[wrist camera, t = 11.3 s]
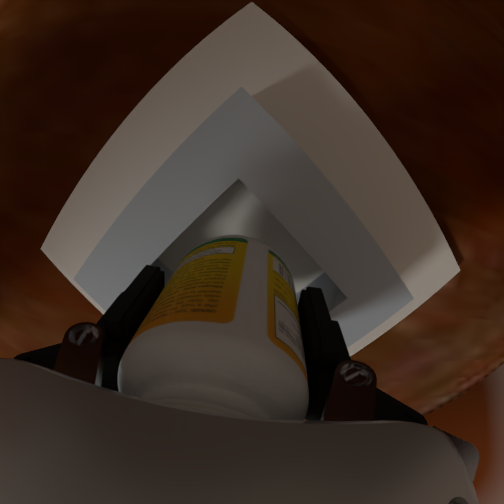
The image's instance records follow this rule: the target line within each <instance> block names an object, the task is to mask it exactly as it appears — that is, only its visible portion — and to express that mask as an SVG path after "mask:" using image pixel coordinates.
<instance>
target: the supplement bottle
mask: <svg viewBox="0 0 504 504" xmlns="http://www.w3.org/2000/svg"><path fill="white" fill-rule="evenodd" d="M117 377H118V390H119V392H121V393H125V394H128V395H132V396H136V397H140V398H144V399H148V400H152V401H157V402H161V403H165V404H170V405H175V406H180V407H185V408H191V409H196V410H202V411H208V412H215V413H222V414H229V415H237V416H246V417H256V418H267V419H281V420H301V421H304V419H305V416H306V413H307V409H308V405H309V390H308V379H307V370H306V362H305V354H304V347H303V340H302V333H301V327H300V320H299V312H298V305H297V299H296V292H295V286H294V281H293V277H292V274H291V272H290V270H289V267H288V266H287V264H286V262H285V261H284V259H283V258H282V257H281V256H280V255H279V254H278V253H277V252H276V251H275V250H274V249H273V248H271V247H270V246H268V245H267V244H265V243H263V242H261V241H259V240H257V239H255V238H251V237H247V236H243V235H225V236H219V237H215V238H211V239H208V240H206V241H204V242H202V243H200V244H198V245H197V246H195V247H194V248H193V249H191V250H190V251H189V252H188V253H187V254H186V256H185V257H184V258H183V260H182V261H181V262H180V264H179V265H178V267H177V268H176V270H175V272H174V273H173V275H172V276H171V278H170V279H169V281H168V283H167V284H166V286H165V287H164V289H163V290H162V292H161V294H160V295H159V297H158V298H157V300H156V301H155V303H154V305H153V306H152V308H151V310H150V311H149V313H148V314H147V316H146V317H145V319H144V321H143V322H142V324H141V325H140V327H139V328H138V330H137V332H136V333H135V335H134V337H133V338H132V340H131V342H130V344H129V345H128V347H127V349H126V350H125V352H124V354H123V356H122V359H121V361H120V364H119V368H118V376H117Z"/></svg>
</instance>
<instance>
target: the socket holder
mask: <svg viewBox="0 0 504 504" xmlns="http://www.w3.org/2000/svg"><path fill="white" fill-rule="evenodd" d="M225 235H243V236H247V237H251V238H255V239H257V240H259V241H261V242H263V243H265V244H267V245H268V246H270V247H271V248H273V249H274V250H275V251H276V252H277V253H278V254H279V255H280V256H281V257H282V258H283V259H284V261H285V262H286V264H287V266H288V267H289V270H290V272H291V274H292V277H293V281H294V286H295V292H296V299H297V305H298V302H299V298H300V293H301V290H302V289H303V290H306V288H307V287H316V288H321V289H322V292H323V295H324V298H325V301H326V304H327V307H328V310H329V314H330V317H331V320H335V321H338V323H339V325H340V328H341V331H342V334H343V337H344V340H345V343H346V346H347V349H348V352H349V355H350V356H352V355H353V354H355V353H356V352H358V351H359V350H361V349H362V348H364V347H365V346H366V345H368V344H369V343H371V342H372V341H374V340H375V339H376V338H378V337H379V336H381V335H382V334H383V333H385V332H386V331H388V330H389V329H390V328H392V327H393V326H394V325H396V324H397V323H398V322H400V321H401V320H402V319H404V318H405V317H406V316H407V315H409V314H410V313H411V312H413V311H414V310H415V309H416V308H418V307H419V306H420V305H421V304H422V303H424V302H425V301H426V300H427V299H429V298H430V297H431V296H432V295H433V294H434V293H436V292H437V291H438V290H439V289H440V288H441V287H443V286H444V285H445V284H446V283H447V282H448V281H449V280H450V279H452V278H453V277H454V276H455V275H456V274H457V273H458V272H459V271H460V269H459V266H458V264H457V262H456V260H455V258H454V255H453V253H452V251H451V249H450V247H449V245H448V243H447V241H446V239H445V237H444V235H443V233H442V231H441V229H440V227H439V225H438V223H437V222H436V220H435V218H434V216H433V214H432V212H431V211H430V209H429V207H428V205H427V204H426V202H425V200H424V198H423V197H422V195H421V193H420V192H419V190H418V188H417V187H416V185H415V183H414V182H413V180H412V179H411V177H410V176H409V174H408V172H407V171H406V169H405V168H404V166H403V165H402V163H401V162H400V160H399V159H398V157H397V156H396V154H395V153H394V152H393V150H392V149H391V147H390V146H389V144H388V143H387V142H386V140H385V139H384V138H383V136H382V135H381V133H380V132H379V131H378V129H377V128H376V127H375V126H374V124H373V123H372V122H371V120H370V119H369V118H368V117H367V115H366V114H365V113H364V112H363V110H362V109H361V108H360V107H359V105H358V104H357V103H356V102H355V101H354V99H353V98H352V97H351V96H350V95H349V94H348V92H347V91H346V90H345V89H344V88H343V87H342V86H341V84H340V83H339V82H338V81H337V80H336V79H335V78H334V77H333V76H332V75H331V73H330V72H329V71H328V70H327V69H326V68H325V67H324V66H323V65H322V64H321V63H320V62H319V61H318V60H317V59H316V58H315V57H314V56H313V55H312V54H311V53H310V52H309V51H308V50H307V49H306V48H305V47H304V46H303V45H302V44H301V43H300V42H299V41H298V40H296V39H295V38H294V37H293V36H292V35H291V34H290V33H289V32H288V31H287V30H285V29H284V28H283V27H282V26H281V25H280V24H278V23H277V22H276V21H275V20H274V19H273V18H271V17H270V16H269V15H268V14H267V13H265V12H264V11H263V10H262V9H260V8H259V7H258V6H257V5H255V4H254V3H253V2H251V3H249V4H248V5H247V6H245V7H244V8H242V9H241V10H240V11H238V12H237V13H236V14H234V15H233V16H232V17H230V18H229V19H228V20H226V21H225V22H224V23H223V24H221V25H220V26H219V27H218V28H216V29H215V30H214V31H213V32H211V33H210V34H209V35H208V36H207V37H206V38H204V39H203V40H202V41H201V42H200V43H199V44H197V45H196V46H195V47H194V48H193V49H192V50H191V51H190V52H189V53H187V54H186V55H185V56H184V57H183V58H182V59H181V60H180V61H179V62H178V63H177V64H176V65H175V66H174V67H173V68H172V69H171V70H170V71H169V72H168V73H167V74H166V75H165V76H164V77H163V78H162V79H161V80H160V81H159V82H158V83H157V84H156V85H155V86H154V87H153V88H152V89H151V90H150V91H149V92H148V94H147V95H146V96H145V97H144V98H143V99H142V100H141V101H140V102H139V104H138V105H137V106H136V107H135V108H134V109H133V110H132V112H131V113H130V114H129V115H128V116H127V118H126V119H125V120H124V121H123V122H122V124H121V125H120V126H119V127H118V129H117V130H116V131H115V132H114V134H113V135H112V136H111V137H110V139H109V140H108V141H107V143H106V144H105V145H104V147H103V148H102V149H101V151H100V152H99V153H98V155H97V156H96V158H95V159H94V160H93V162H92V163H91V165H90V166H89V168H88V169H87V171H86V172H85V173H84V175H83V176H82V178H81V179H80V181H79V183H78V184H77V186H76V187H75V189H74V190H73V192H72V193H71V195H70V197H69V198H68V200H67V202H66V203H65V205H64V207H63V208H62V210H61V212H60V213H59V215H58V217H57V219H56V221H55V222H54V224H53V226H52V228H51V230H50V231H49V233H48V235H47V237H46V239H45V241H44V243H43V245H42V247H41V250H42V251H43V252H44V253H45V255H46V256H47V257H48V258H49V259H50V260H51V261H52V262H53V264H54V265H55V266H56V267H57V268H58V269H59V270H60V271H61V272H62V273H63V275H64V276H65V277H66V278H67V279H68V280H69V281H70V282H71V283H72V284H73V285H74V286H75V287H76V288H77V289H78V290H79V291H80V292H81V293H82V294H83V295H84V296H85V297H86V298H87V299H88V300H89V301H90V302H91V303H92V304H93V305H94V306H95V307H96V308H97V309H98V310H99V311H100V312H101V313H102V314H103V315H104V313H105V312H106V311H107V310H108V308H109V307H110V306H111V305H112V303H113V302H114V301H115V299H116V298H117V297H118V296H119V295H120V293H122V292H124V291H125V290H126V289H127V287H128V286H129V285H130V284H131V283H132V281H133V280H134V279H135V278H136V276H137V275H138V274H139V273H140V272H141V270H142V269H143V268H144V267H145V266H146V265H151V266H157V267H160V269H161V271H164V273H165V286H166V284H167V283H168V281H169V279H170V278H171V276H172V275H173V273H174V272H175V270H176V268H177V267H178V265H179V264H180V262H181V261H182V260H183V258H184V257H185V256H186V254H187V253H188V252H189V251H190V250H191V249H193V248H194V247H195V246H197V245H198V244H200V243H202V242H204V241H206V240H208V239H211V238H215V237H219V236H225Z"/></svg>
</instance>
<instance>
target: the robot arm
mask: <svg viewBox="0 0 504 504" xmlns="http://www.w3.org/2000/svg"><path fill="white" fill-rule="evenodd" d="M164 287H165V273H164V271H161V269H160V267H157V266H151V265H146V266H145V267H144V268H143V269H142V270H141V272H140V273H139V274H138V275H137V276H136V278H135V279H134V280H133V281H132V283H131V284H130V285H129V286H128V287H127V289H126V290H125V291H124V292H122V293H120V295H119V296H118V297H117V298H116V299H115V301H114V302H113V303H112V305H111V306H110V307H109V308H108V310H107V311H106V312H105V313H104V315H103V316H102V317H101V319H100V320H99V321H98V322H97V324H94V323H91V322H81V323H77V324H75V325H73V326H71V327H70V328H69V329H68V330H67V331H66V333H65V335H64V338H63V341H62V343H60V344H56V345H53V346H49V347H45V348H41V349H37V350H34V351H30V352H26V353H22V354H20V355H17V356H16V357H14V358H13V359H12V358H0V504H479V502H478V499H477V496H476V492H475V489H474V486H473V484H472V483H473V479H474V476H475V473H476V469H477V465H478V461H479V453H478V450H477V449H476V448H475V446H474V445H472V444H471V443H469V442H467V441H464V440H462V439H460V438H457V437H456V436H453V435H451V434H449V433H447V432H445V431H443V430H440V429H438V428H437V427H435V426H433V427H431V426H428V424H427V421H426V419H425V418H424V417H423V416H422V415H421V414H420V413H418V412H417V411H415V410H413V409H412V408H410V407H408V406H407V405H405V404H403V403H401V402H400V401H398V400H396V399H395V398H393V397H391V396H390V395H388V394H386V393H385V392H383V391H381V390H380V389H378V388H376V384H377V378H376V374H375V372H374V370H373V369H372V368H371V367H370V366H368V365H366V364H365V363H363V362H360V361H355V360H351V358H350V355H349V352H348V349H347V346H346V343H345V340H344V337H343V334H342V331H341V328H340V325H339V323H338V321H335V320H331V317H330V314H329V310H328V307H327V304H326V301H325V298H324V295H323V292H322V289H321V288H316V287H307V288H306V290H303V289H302V290H301V293H300V298H299V302H298V312H299V320H300V327H301V333H302V340H303V347H304V354H305V362H306V370H307V379H308V390H309V405H308V409H307V413H306V416H305V419H306V420H308V421H301V420H281V419H267V418H256V417H246V416H237V415H229V414H222V413H215V412H208V411H202V410H196V409H191V408H185V407H180V406H175V405H170V404H165V403H161V402H157V401H152V400H148V399H144V398H140V397H136V396H132V395H128V394H125V393H121V392H119V390H118V377H117V376H118V368H119V364H120V361H121V359H122V356H123V354H124V352H125V350H126V349H127V347H128V345H129V344H130V342H131V340H132V338H133V337H134V335H135V333H136V332H137V330H138V328H139V327H140V325H141V324H142V322H143V321H144V319H145V317H146V316H147V314H148V313H149V311H150V310H151V308H152V306H153V305H154V303H155V301H156V300H157V298H158V297H159V295H160V294H161V292H162V290H163V289H164Z"/></svg>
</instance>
